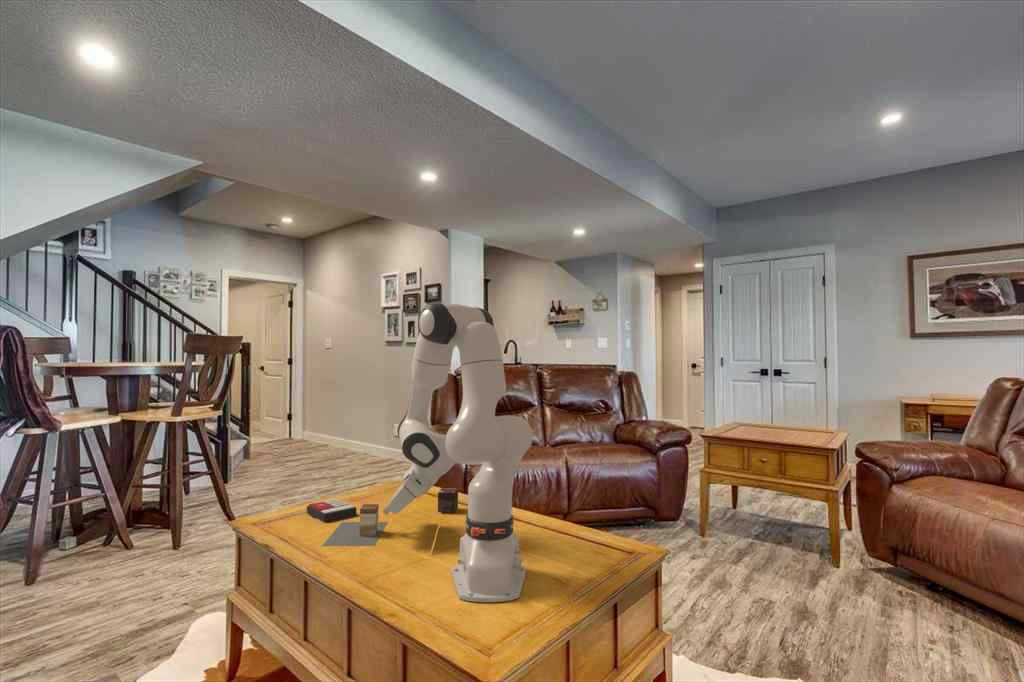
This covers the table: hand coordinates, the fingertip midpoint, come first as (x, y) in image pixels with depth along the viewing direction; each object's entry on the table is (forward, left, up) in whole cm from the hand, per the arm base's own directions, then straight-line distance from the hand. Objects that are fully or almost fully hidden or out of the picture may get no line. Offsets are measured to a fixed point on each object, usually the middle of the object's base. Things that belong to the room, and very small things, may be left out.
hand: (385, 512), depth 153 cm
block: (0, +5, -6) cm, 8 cm away
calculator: (+18, +21, -7) cm, 29 cm away
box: (+23, -17, -7) cm, 30 cm away
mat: (0, +8, -7) cm, 11 cm away
